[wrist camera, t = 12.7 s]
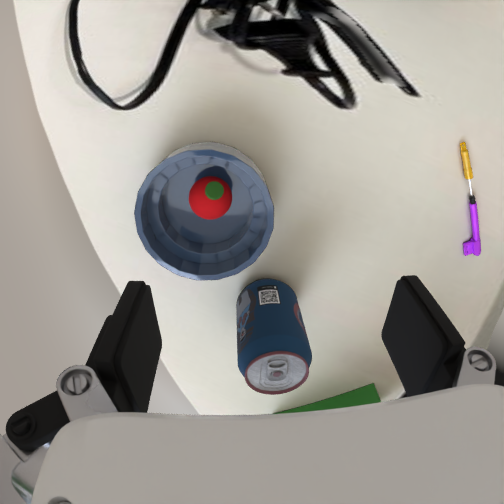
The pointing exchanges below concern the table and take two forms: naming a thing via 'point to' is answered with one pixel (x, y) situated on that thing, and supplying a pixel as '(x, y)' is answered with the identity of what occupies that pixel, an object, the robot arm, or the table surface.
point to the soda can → (271, 338)
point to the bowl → (199, 229)
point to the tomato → (210, 197)
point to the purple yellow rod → (471, 208)
